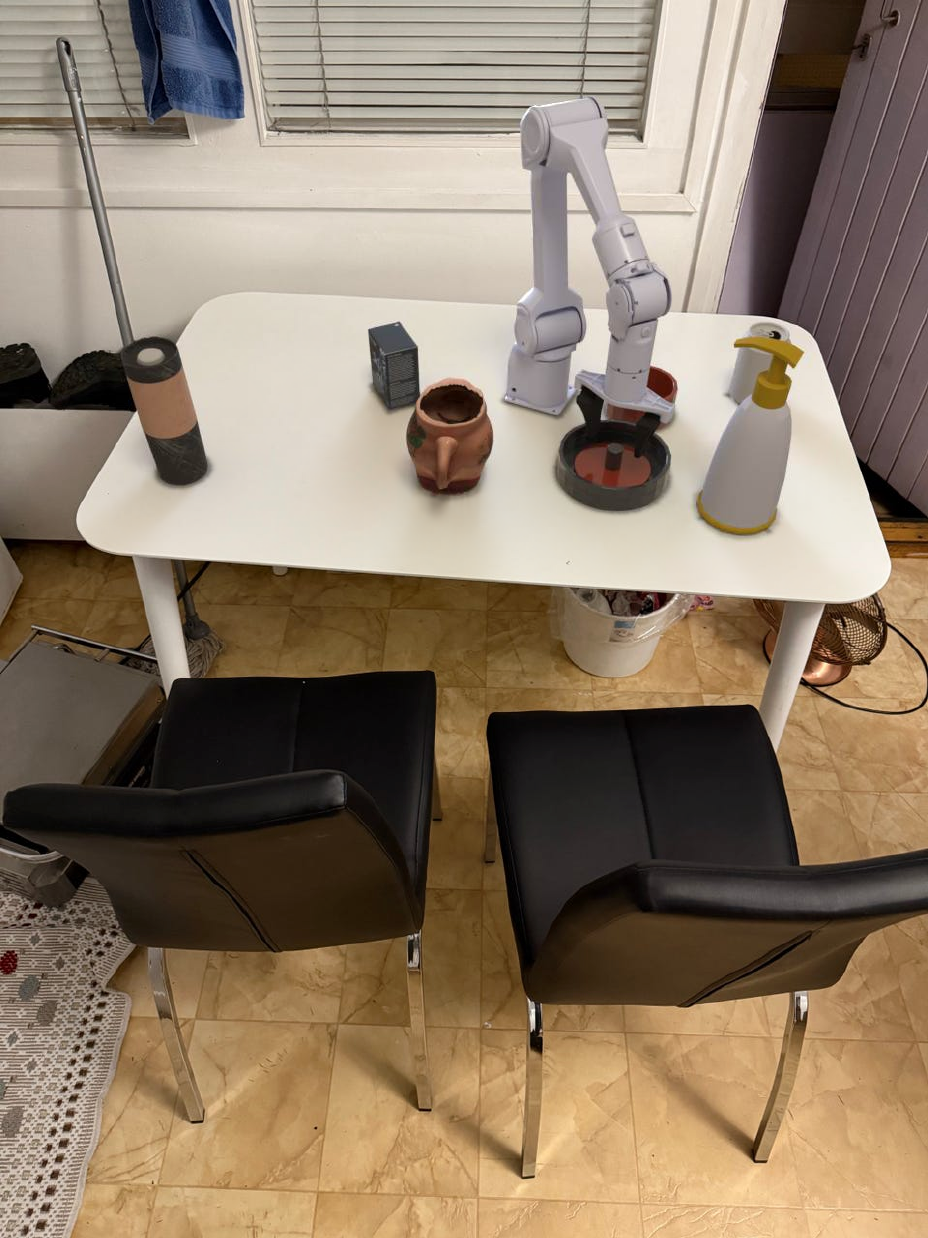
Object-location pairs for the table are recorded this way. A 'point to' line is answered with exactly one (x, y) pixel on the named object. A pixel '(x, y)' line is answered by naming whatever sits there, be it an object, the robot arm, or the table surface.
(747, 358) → the can
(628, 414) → the reddish brown bowl
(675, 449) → the table surface
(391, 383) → the box
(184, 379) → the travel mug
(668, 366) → the table surface
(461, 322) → the table surface
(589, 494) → the pan
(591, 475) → the lid
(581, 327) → the robot arm
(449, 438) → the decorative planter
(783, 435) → the soap bottle
